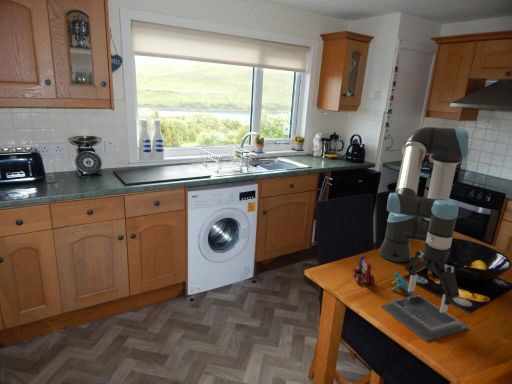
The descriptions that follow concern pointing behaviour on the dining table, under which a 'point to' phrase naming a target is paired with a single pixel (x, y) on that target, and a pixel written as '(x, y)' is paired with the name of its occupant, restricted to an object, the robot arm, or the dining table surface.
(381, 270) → the dining table surface
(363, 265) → the dark red figurine
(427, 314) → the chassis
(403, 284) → the blue toy figure
